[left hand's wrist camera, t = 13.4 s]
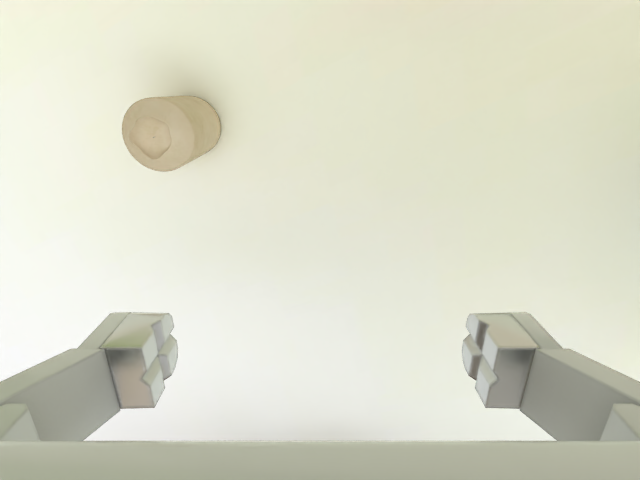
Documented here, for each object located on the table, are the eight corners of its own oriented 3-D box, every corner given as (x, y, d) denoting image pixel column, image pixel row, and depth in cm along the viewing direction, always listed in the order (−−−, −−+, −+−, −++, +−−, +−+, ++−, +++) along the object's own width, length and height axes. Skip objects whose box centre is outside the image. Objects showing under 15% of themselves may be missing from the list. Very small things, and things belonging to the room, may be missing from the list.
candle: (222, 155, 38) (190, 177, 28) (167, 152, 38) (117, 173, 28) (220, 97, 36) (185, 100, 26) (162, 93, 36) (106, 95, 26)
